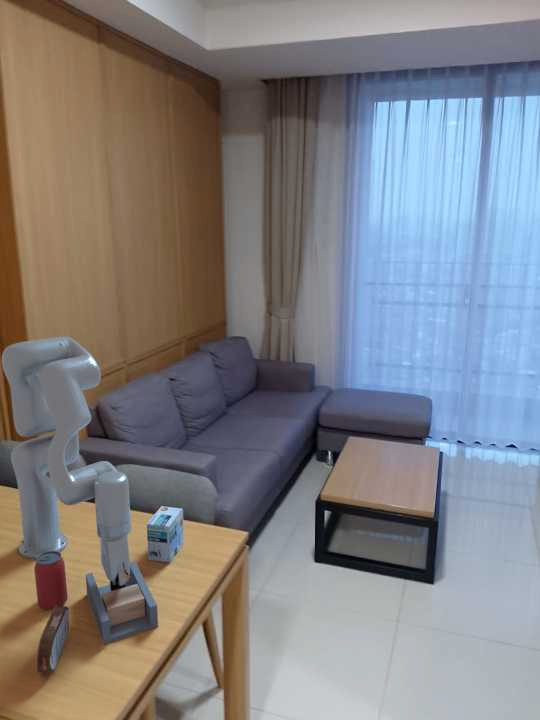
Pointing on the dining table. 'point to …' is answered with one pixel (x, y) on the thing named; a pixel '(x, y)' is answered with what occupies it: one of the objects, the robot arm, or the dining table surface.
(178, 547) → the light bulb box
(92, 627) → the dining table surface
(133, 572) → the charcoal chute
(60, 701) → the dining table surface
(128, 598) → the brown cardboard box
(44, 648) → the tin
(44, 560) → the beer can
